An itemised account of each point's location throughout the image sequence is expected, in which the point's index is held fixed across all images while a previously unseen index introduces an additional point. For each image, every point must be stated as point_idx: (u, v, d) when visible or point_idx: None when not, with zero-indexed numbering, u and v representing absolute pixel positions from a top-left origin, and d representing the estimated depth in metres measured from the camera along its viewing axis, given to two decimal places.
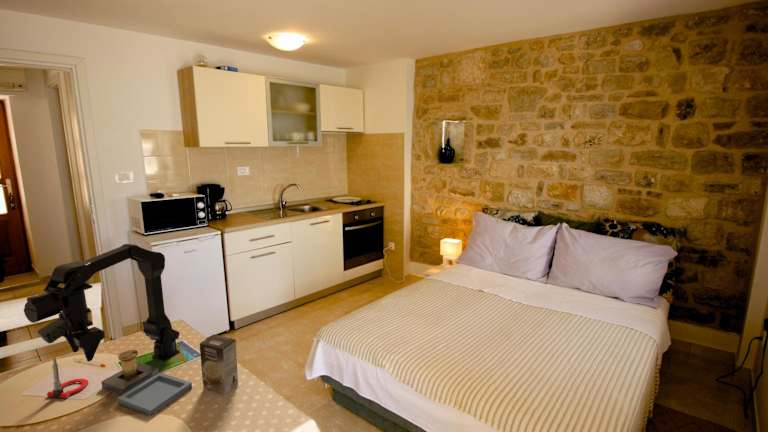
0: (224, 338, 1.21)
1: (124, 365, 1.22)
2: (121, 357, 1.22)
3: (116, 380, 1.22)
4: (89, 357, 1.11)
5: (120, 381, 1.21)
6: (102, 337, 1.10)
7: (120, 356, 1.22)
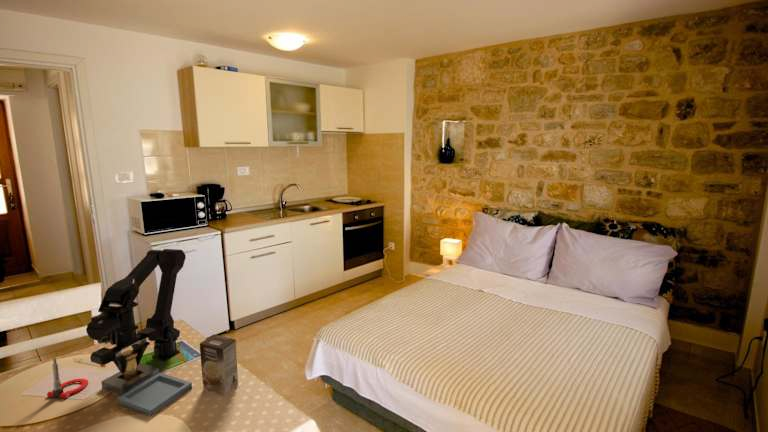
0: (224, 338, 1.21)
1: None
2: None
3: (116, 380, 1.22)
4: (119, 369, 1.22)
5: (120, 381, 1.21)
6: (101, 363, 1.14)
7: None
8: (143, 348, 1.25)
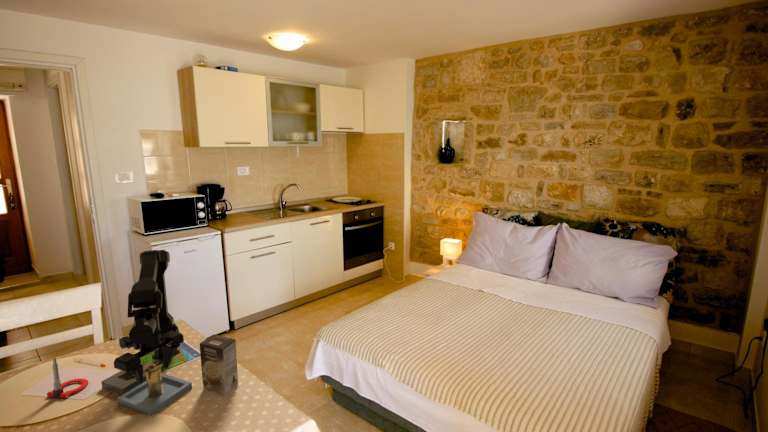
0: (224, 338, 1.21)
1: (148, 377, 1.15)
2: (146, 368, 1.14)
3: (116, 380, 1.22)
4: (137, 380, 1.12)
5: (120, 381, 1.21)
6: (125, 370, 1.06)
7: (144, 367, 1.15)
8: (174, 349, 1.20)
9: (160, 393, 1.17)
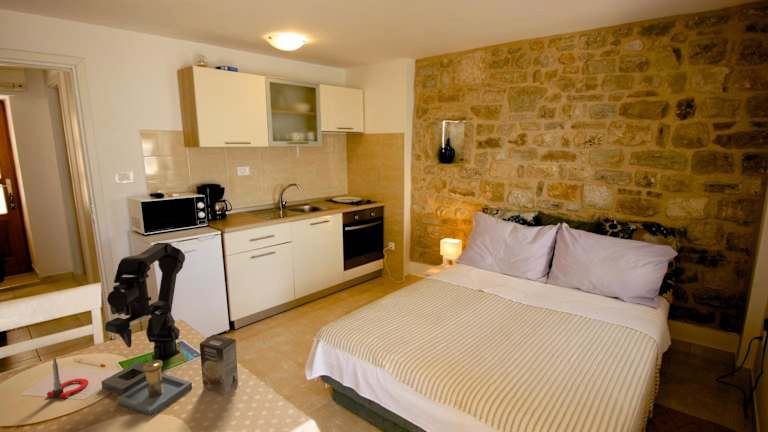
0: (224, 338, 1.21)
1: (148, 376, 1.15)
2: (146, 368, 1.14)
3: (116, 380, 1.22)
4: (126, 343, 1.21)
5: (120, 381, 1.21)
6: (115, 332, 1.15)
7: (144, 367, 1.15)
8: (162, 317, 1.29)
9: (160, 393, 1.17)
